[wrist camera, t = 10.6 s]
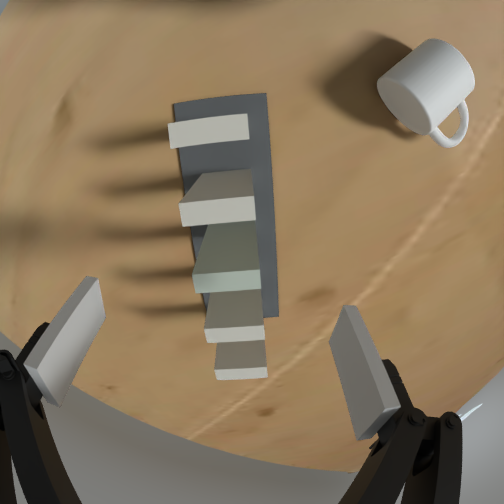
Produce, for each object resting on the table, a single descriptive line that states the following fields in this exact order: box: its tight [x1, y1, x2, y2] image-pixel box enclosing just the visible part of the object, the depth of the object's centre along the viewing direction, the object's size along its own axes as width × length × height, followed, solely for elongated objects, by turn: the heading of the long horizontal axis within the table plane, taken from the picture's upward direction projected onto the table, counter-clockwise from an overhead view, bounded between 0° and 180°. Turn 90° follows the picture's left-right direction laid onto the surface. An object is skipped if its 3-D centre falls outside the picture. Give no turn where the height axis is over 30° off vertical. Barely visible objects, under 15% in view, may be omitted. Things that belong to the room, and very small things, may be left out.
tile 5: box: [214, 340, 267, 380], centre depth 33 cm, size 2×5×12 cm, turn 94°
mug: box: [377, 39, 475, 148], centre depth 23 cm, size 12×10×8 cm
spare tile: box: [192, 220, 261, 293], centre depth 28 cm, size 2×5×12 cm, turn 95°
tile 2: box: [179, 169, 256, 227], centre depth 25 cm, size 2×5×12 cm, turn 94°
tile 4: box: [204, 289, 265, 343], centre depth 30 cm, size 2×5×12 cm, turn 94°
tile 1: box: [168, 114, 249, 149], centre depth 23 cm, size 2×5×12 cm, turn 94°
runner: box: [174, 93, 279, 318], centre depth 33 cm, size 29×10×1 cm, turn 4°
